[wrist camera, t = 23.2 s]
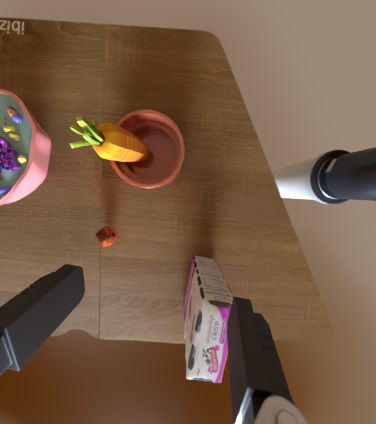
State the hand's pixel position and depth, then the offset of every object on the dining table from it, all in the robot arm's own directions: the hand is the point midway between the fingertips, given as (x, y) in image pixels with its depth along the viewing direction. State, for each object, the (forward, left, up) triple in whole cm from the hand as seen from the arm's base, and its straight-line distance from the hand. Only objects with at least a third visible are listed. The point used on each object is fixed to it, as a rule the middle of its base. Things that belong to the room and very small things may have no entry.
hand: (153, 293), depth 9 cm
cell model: (+30, -10, -28) cm, 42 cm away
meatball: (+13, +4, -28) cm, 31 cm away
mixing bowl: (+5, -12, -28) cm, 31 cm away
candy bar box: (-6, +13, -28) cm, 32 cm away
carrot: (+5, -12, -27) cm, 30 cm away
